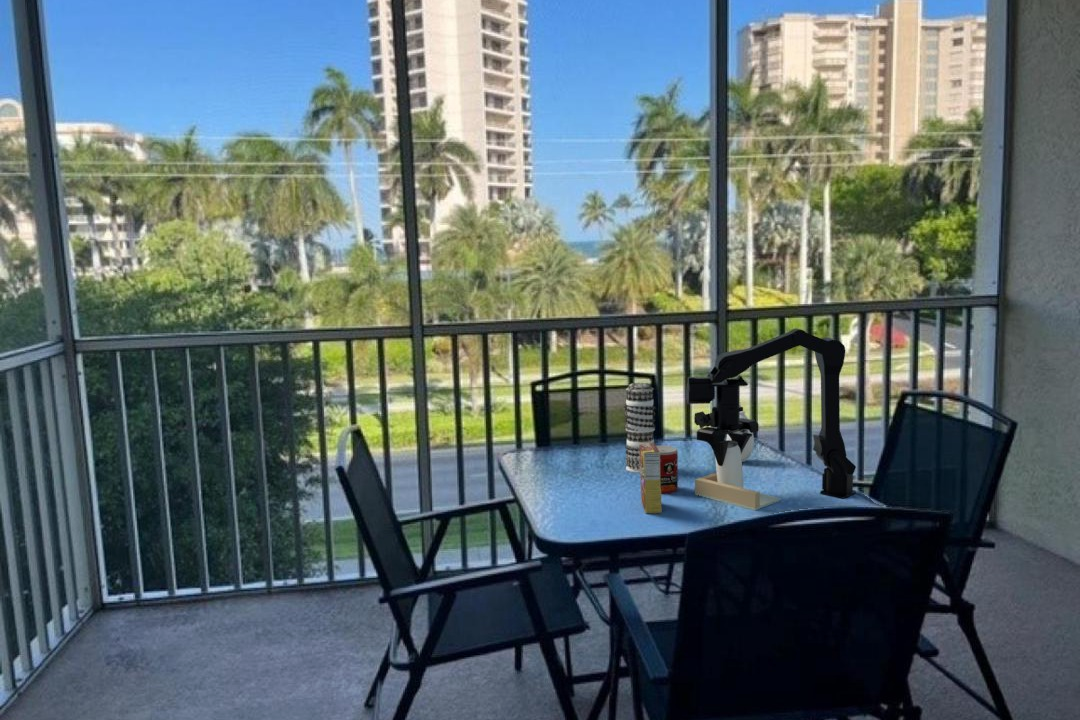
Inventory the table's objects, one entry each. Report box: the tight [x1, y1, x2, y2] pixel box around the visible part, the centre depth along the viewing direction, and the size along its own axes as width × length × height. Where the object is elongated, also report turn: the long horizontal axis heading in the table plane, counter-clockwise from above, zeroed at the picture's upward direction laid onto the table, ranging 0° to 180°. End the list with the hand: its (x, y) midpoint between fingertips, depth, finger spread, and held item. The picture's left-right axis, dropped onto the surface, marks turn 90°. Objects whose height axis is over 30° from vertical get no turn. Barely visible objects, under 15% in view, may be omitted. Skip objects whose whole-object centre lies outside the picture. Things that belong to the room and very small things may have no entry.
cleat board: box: [694, 472, 782, 511], centre depth 199 cm, size 18×11×4 cm, turn 41°
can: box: [714, 439, 745, 488], centre depth 201 cm, size 6×6×12 cm
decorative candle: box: [623, 382, 657, 474], centre depth 227 cm, size 9×9×25 cm
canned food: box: [656, 444, 679, 494], centre depth 207 cm, size 8×8×11 cm
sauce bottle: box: [726, 402, 755, 463], centre depth 232 cm, size 8×8×18 cm
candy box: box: [639, 442, 662, 514], centre depth 192 cm, size 9×4×15 cm, turn 0°
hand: (728, 463), depth 201 cm, fingers closed on can, 6 cm apart
